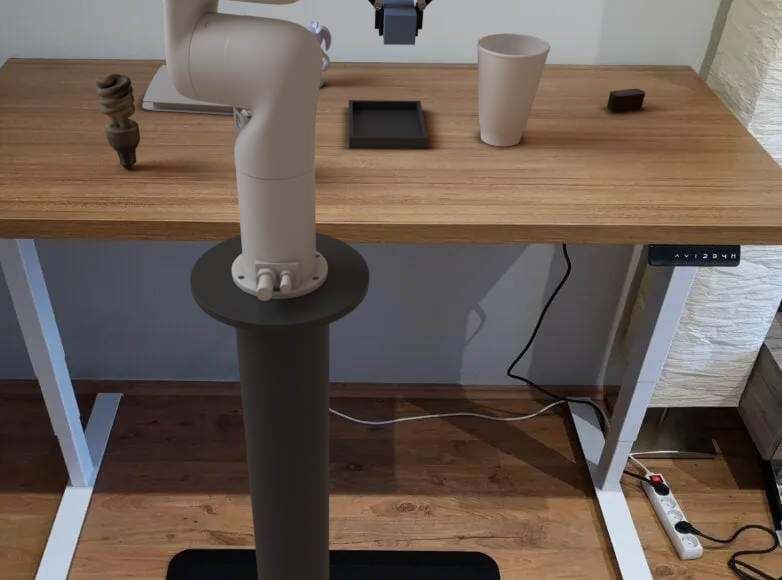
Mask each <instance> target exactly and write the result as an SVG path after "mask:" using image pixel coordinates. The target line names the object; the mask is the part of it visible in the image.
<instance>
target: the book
mask: <svg viewBox="0 0 782 580" xmlns="http://www.w3.org/2000/svg"><path fill="white" fill-rule="evenodd" d="M233 107H236V106H229V105H223V104H216V103H209V102H204V101H198V100H193V99H190V98H187V97H185V96H183V95H181V94H180V93H179V92H178V91H177V90H176V89H175V88H174V86H173V84H172V82H171V80H170V77H169V74H168V70H167V64H162V65H161V66H160V67H159V68H158V70H157V71H156V73H155V74H154V76H153V78H152V79H151V81H150V82H149V85H148V87H147V89H146V91H145V93H144V97H143V99H142V105H141V108H143V109H144V110H148V111H159V112H172V113H173V112H174V113H175V112H176V113H177V112H178V113H193V114H209V115H210V114H212V115H229V116H234V109H233Z"/></svg>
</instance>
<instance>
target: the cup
mask: <svg viewBox="0 0 782 580" xmlns="http://www.w3.org/2000/svg"><path fill="white" fill-rule="evenodd" d="M476 47H477V87H478V88H477V90H478V91H477V92H478V94H477V95H478V123H479V125H480V139H481V140H482V142H483V143H486V144H488V145H491V146H496V147H512V146H515V145H518V144H519V143H520V142H521V138H522V135H523V131H524V129H526V127H527V124H528V120H529V118H530V114H531V110H532V107H533V104H534V102H535V98H536V94H537V91H538V88H539V86H540V85H539V84H540V81H541V78H542V75H543V71H544V69H545V66H546V63H547V62H546V61H547V60H548V56H549V53H550V50H551V46H550V44H549V42H547V41H546V40H544V39H542V38H540V37H536V36H533V35H529V34H522V33H506V32H505V33H504V32H503V33H494V34H489V35H485V36H483V37H481V38H479V39H478V40H477V43H476Z"/></svg>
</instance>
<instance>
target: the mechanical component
mask: <svg viewBox="0 0 782 580" xmlns="http://www.w3.org/2000/svg"><path fill="white" fill-rule="evenodd" d="M233 109H234V115H233V119H234V128H235V131H236V133H237V135H239V133H240V132H241V130H242V129H243V128H244V127H245V125H246V124H247V123H248V122H249V121H250V119H251V117H252V113H251V111H250V110H248V109H244V108H239V107H233Z"/></svg>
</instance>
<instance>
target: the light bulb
mask: <svg viewBox="0 0 782 580" xmlns="http://www.w3.org/2000/svg"><path fill="white" fill-rule="evenodd" d="M94 85H95V86H96V87H97V88H96V94H97V95H98V96H99V97H100V98H99V100H98V103H99V104H100V105H101V106H102V107H101V108H100V112H101V113H102V114H104V115H106V116H108V117H109V119H110V121H109V122H107V123H106V124H105V126H104V132H105V135H106V139H107V142H108V144H109V146H110V147H111V148H113V150H115V152H116V154H117V156H118V159H119V164H120V165H121V166H122V167H123V169H126V170H130V169H131V168H132V167H133V166H134V165H135V164H136V163H137V154H136V152H137V151H136V150H137V148H138V146H139V145H140V141H141V133H140V127H139V123H138V122H137V121H136V120H133V119H131V118H130V117H131V116H133V115H134V114H135V113H136V112H135V111H136V106H135V103H134V102H135V97H134V95H133V92H134V88H133V86H132V80H131V78H130V77H129V76H128V75H125V74H120V73H110V74H108V75H106V76H105V77H97V78H96V79H95V80H94Z"/></svg>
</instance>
